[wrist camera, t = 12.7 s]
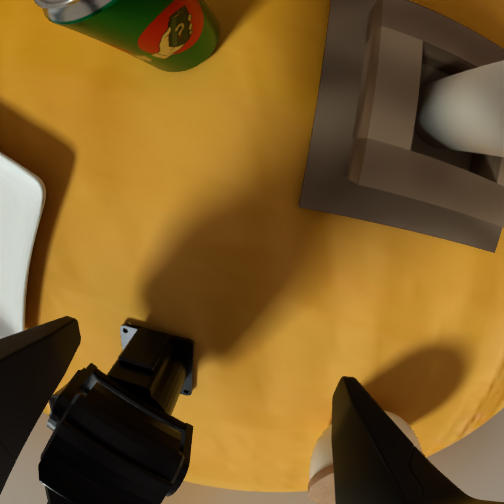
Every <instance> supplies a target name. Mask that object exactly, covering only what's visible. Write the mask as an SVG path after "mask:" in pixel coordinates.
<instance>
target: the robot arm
mask: <svg viewBox="0 0 504 504" xmlns="http://www.w3.org/2000/svg"><path fill="white" fill-rule="evenodd" d="M125 328H126V329H127V330H128V331H127V330H126V329H125ZM120 332H121V341H122V349H123V351H122V352H121V354H120V355H119V357H118V359H117V361H116V362H115V364H114V365H113V367H112V368H111V369H110V371H109V372H108V374H107V375H106V374H104V373H103V372H101V371H100V370H99V369H97V367H96V366H95V365H94V364H92V363H91V364H90V365H89V366H88V367H87V368H86V369H85V368H83V369H82V370H78V371H77V373H76V374H75V375H74V376H73V378H72V379H71V380H70V381H69V382H68V384H66V385H65V386H64V387H63V388H61V389H60V390H59V391H58V392H56V393H55V394H54V395H53V393H54V391H55V390H56V388H57V386H58V385H59V383H60V382H61V380H62V378H63V376H64V375H65V373H66V371H67V369H68V367H69V365H70V362H71V360H72V358H73V356H74V354H75V352H76V350H77V348H78V346H79V344H80V341H81V336H80V331H79V326H78V321H77V320H76V319H75V318H72V317H69V316H65V317H62V318H59V319H56V320H53V321H50V322H48V323H45V324H42V325H39V326H36V327H33V328H30V329H27V330H24V331H21V332H18V333H15V334H12V335H10V336H7V337H4V338H1V339H0V494H1V492H2V490H3V487H4V485H5V483H6V481H7V479H8V477H9V474H10V472H11V470H12V468H13V466H14V464H15V462H16V461H15V460H17V458H18V456H19V454H20V452H21V450H22V448H23V446H24V444H25V442H26V441H27V439H28V437H29V435H30V433H31V431H32V429H33V427H34V426H35V424H36V422H37V420H38V418H39V417H40V415H41V413H42V412H43V410H44V408H45V407H46V405H47V403H48V401H49V404H50V409H51V412H50V414H49V420H48V422H47V427H49V428H50V429H51V430H53V431H54V432H53V434H52V436H51V437H50V439H49V441H48V443H47V445H46V447H45V449H44V451H43V453H42V454H41V461H40V463H39V465H38V470H39V480H40V482H41V483H42V484H44V485H45V489H46V494H47V499H48V503H47V504H161V503H162V501H163V499H164V497H165V496H171V495H172V494H174V492H176V490H177V489H178V488H179V487H180V485H181V483H182V482H183V480H184V478H185V476H186V473H187V471H188V467H189V463H190V454H191V443H192V433H193V426H192V425H190V424H188V423H184V422H182V421H180V420H178V419H176V418H175V417H173V416H171V415H172V412H173V410H174V407H175V405H176V402H177V399H178V397H179V394H183V395H191V393H192V390H193V369H194V349H195V344H194V342H193V341H192V340H190V339H186V338H182V337H178V336H173V335H169V334H165V333H161V332H157V331H153V330H149V329H146V328H142V327H138V326H135V325H131V324H127V323H124V324H123V325H122V326H121V327H120ZM186 344H188V345H189V346H187V345H186ZM187 390H188V391H187ZM51 396H52V397H51ZM331 443H332V456H333V470H334V486H335V504H504V502H494V501H485V500H478V499H475V498H472V497H470V496H468V495H466V494H465V493H464V492H463V491H461V490H460V489H459V488H458V487H457V486H456V485H455V484H453V483H452V482H451V481H450V480H449V479H448V478H447V477H445V476H444V475H443V474H442V473H441V472H440V471H439V470H438V469H437V468H436V467H435V466H434V465H433V464H432V463H430V461H429V460H428V459H427V458H426V457H425V456H424V455H423V454H422V453H421V452H420V451H419V450H418V448H417V447H416V446H414V444H413V443H412V442H411V441H410V439H409V438H408V437H407V436H406V435H405V434H404V433H403V432H402V430H401V429H400V428H399V427H398V426H397V425H396V424H395V423H394V421H393V420H392V419H391V418H390V417H389V416H388V415H387V414H386V412H385V411H384V410H383V409H382V408H381V407H380V406H379V404H378V403H377V402H376V401H375V400H374V399H373V398H372V396H371V395H370V394H369V393H368V392H367V391H366V390H365V389H364V387H363V386H362V385H361V384H360V383H359V382H358V381H357V379H356V378H354V377H347V376H343V377H342V378H341V379H340V381H339V383H338V385H337V388H336V390H335V392H334V395H333V400H332V431H331Z"/></svg>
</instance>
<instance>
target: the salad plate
mask: <svg viewBox="0 0 504 504" xmlns="http://www.w3.org/2000/svg"><path fill="white" fill-rule="evenodd" d="M45 200H46V188H45V185H44V183H43V181H42V180H41V179H40V178H39V177H38V176H37V175H35V174H34V173H32V172H31V171H29V170H28V169H26V168H25V167H23V166H21V165H20V164H18V163H17V162H15V161H14V160H12V159H11V158H9V157H8V156H6V155H4V154H3V153H1V152H0V339H1V338H4V337H7V336H10V335H12V334H15V333H18V332H21V331H24V330H25V306H26V292H27V282H28V274H29V267H30V261H31V256H32V251H33V246H34V242H35V238H36V234H37V230H38V226H39V222H40V219H41V215H42V212H43V208H44V204H45Z"/></svg>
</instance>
